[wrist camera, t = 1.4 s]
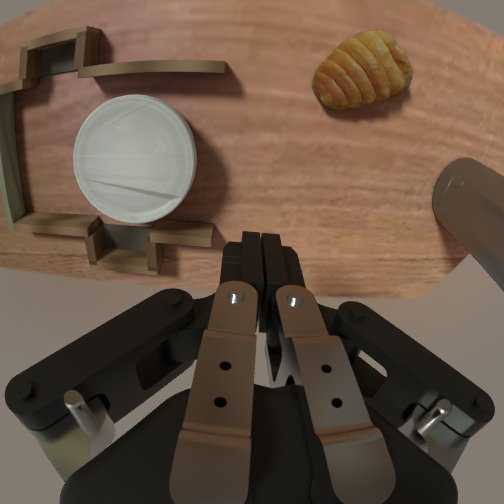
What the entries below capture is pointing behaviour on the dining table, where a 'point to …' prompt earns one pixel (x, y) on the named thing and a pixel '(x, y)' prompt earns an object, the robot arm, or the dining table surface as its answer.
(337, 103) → the pastry
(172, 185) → the ramekin
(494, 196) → the robot arm
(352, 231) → the dining table surface
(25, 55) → the box
